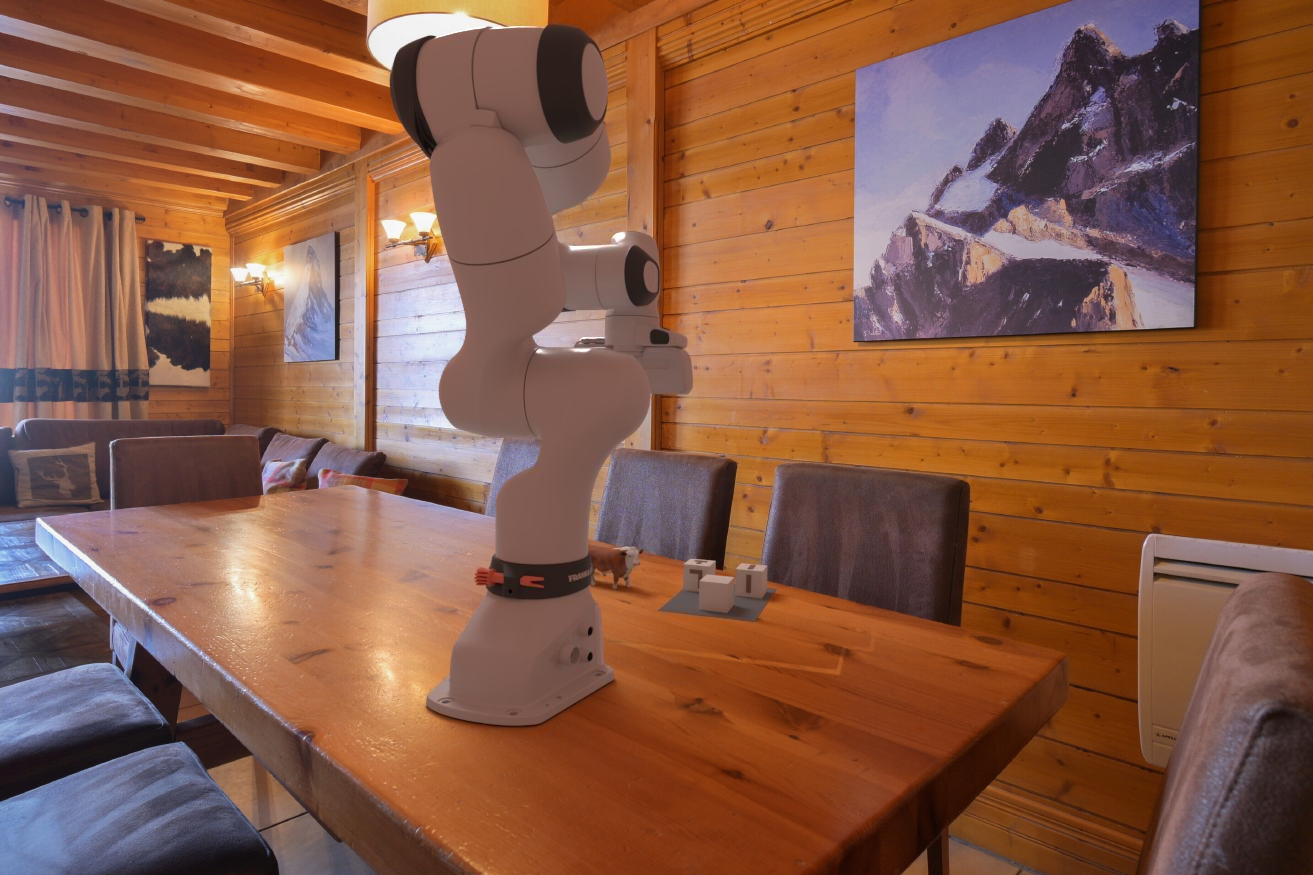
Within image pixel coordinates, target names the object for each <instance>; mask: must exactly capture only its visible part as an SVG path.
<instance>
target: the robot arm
mask: <svg viewBox="0 0 1313 875" xmlns="http://www.w3.org/2000/svg"><path fill="white" fill-rule="evenodd" d="M603 58H604V57H603V56H602V53H601V50H600V48H599V45H598V44H597V43H596V41H595V40H594V39H593V38H592V37H591V36H589V35H588V34H587V33H586V32H585V31H584V30H583V29H582V28H580V27H577V26H573V25H567V24H559V23H558V24H556V23H550V24H547V25H546V26H545V27H542V26H503V27H493V26H490V25H488V26H481V27H475V28H474V27H473V28H469V29H464V30H457V31H454V32H451V33H447V34H443V35H440V36H437V35H433V34H431V35H426V36H423V37H420V38H419V37H418V38H417V39H414V40H412V41H410V42H408V43H407V44H404V45H403V46H401V47H400V48H399V49H398V50H397V52H396V54H395V56H394V59H393V62H392V66H391V69H390V72H389V74H390V75H389V92H390V98H391V102H392V106H393V109H394V112H395V114H396V115H397V118H398V121H399V122H400V124H401V125H402V127H403V129H404V130H405V132H406V133H407V134H408V136H409V137H410V138H411V139H412V140H413V141H414V143H415V144H416V145H417V146H419V148H420V150H421V151H422V152H423V154H424V155H425V156H426V157H427V158H428V159H429V173H430V177H429V178H430V183H431V191H432V192H431V193H432V198H433V202H434V208H435V213H436V218H437V221H438V226H439V230H440V234H441V238H442V241H443V244H444V247H445V250H446V253H447V257H448V259H449V260H448V261H449V263H450V266H451V269H452V272H453V275H454V280H455V282H456V285H457V288H458V292H459V296H460V301H461V304H462V307H463V311H464V317H465V335H464V340H463V344H462V345H461V347H460V349H459V351H457V353H456V354H455V355H453V356H452V357H451V358H450V360H449V361H448V362H447V364H446V365H445V367H444V368H443V371H442V373H441V375H440V379H439V384H438V399H439V404H440V407H441V410H442V412H443V415H444V416H445V418H446V419H447V421H448V422H449V423H450V425H452V426H453V427H454V428H455V429H456V430H461V431H464V432H468V433H471V434H475V435H478V436H484V437H487V438H491V439H518V440H519V439H520V440H521V439H523V440H540V448H539V454H538V457H537V459H536V461H535V463H534V464H533V465H532V466H530V467H528V468H526V469H524V470H522V471H519V472H518V473H516V474H514V475H513V476H511V477H510V478H508V479H507V480H506V481H505V482H504V483H503V484H502V485H501V487H500V489H499V491H498V493H497V495H496V496H495V537H494V538H495V543H494V544H495V550H494V551H495V552H494V554H493V555H492V557H491V560H490V565H489V567H488V568H486V567H478V568H477V569H476V570H475V572H476V573H474V583H476V584H475V585H476V586H485V589H486V592H485V595H484V597H483V598H482V600H481V602H480V603H479V604H478V606H477V607H476V608H475V611H474V612H473V613H472V615H471V617H470V619H469V620H468V622H467V624H466V625H465V626H464V628H463V630H462V631H461V633H460V634H459V635H458V637H457V639H456V640H455V642H454V644H453V646H452V651H451V657H450V663H449V664H450V668H449V674H448V675H447V676H446V677H445V678H444V679H443V680H442V681H441V682H439V684H437V685H436V686H435V687H434V688H433V689H432V690H430V692H428V694H427V695H426V700H425V705H426V706H427V707H428V708H430V709H431V710H432V711H434V712H436V713H439V714H441V715H444V716H447V717H450V718H455V719H459V720H463V721H468V722H473V723H482V724H488V725H498V726H514V727H516V726H531V725H532V726H533V725H538V724H542V723H544V722H546V721H547V720H549V719H551V718H553V717H554V716H555V715H557V714H560V712H563V711H565V709H567V708H568V707H570V706H572V705H574V704H575V703H577V702H579V701H580V700H582V699H584V698H586V697H588V696H589V695H590V694H592V693H594V692H595V691H597V690H598V689H600V688H602V687H604V686H606V685H607V684H609V683H610V682H612V681H614V680H615V671H614V668H613V667H611V666H609V665H608V664H606V663H605V654H604V635H603V634H604V633H603V632H604V631H603V620H602V618H603V617H602V610H601V607H600V605H599V603H598V602H596V600H595V598H594V597H593V594H592V592H591V589H590V585H591V582H592V562H591V554H590V553H589V552H588V544H589V529H590V515H591V514H590V513H591V505H592V504H591V503H592V497H593V496H592V495H593V492H594V491H593V490H594V488H595V483H596V481H597V478H598V475H599V473H600V471H601V469H602V467H603V465H604V464H605V462H606V460H607V459H608V458H609V456H610V455H611V453H612V452H613V451H614V450H616V448H617V447H618V446H619V445H620V444H621V443H623V442H624V441H625V440H627V439H628V438H629V437H631V436H632V435H633V434H635V433H636V432H637V431H638V429H639V428H640V427H641V426H642V424H643V422H644V421H645V419H646V417H647V415H648V412H649V409H650V405H651V398H652V397H651V395H689V394H690V392H691V391H692V390H693V387H694V377H693V375H694V373H693V364H692V358H691V355H690V354H689V352H688V351H686V350H685V349H686V348H687V347H688V337H687V336H685V335H684V334H682V333H679V332H675V331H673V330H671V329H669V328H667V327H661V326H660V313H659V308H658V301H659V297H660V294H661V269H660V268H661V266H660V258H659V256H660V255H659V248H658V244H657V241H656V240H655V238H653V236H651V235H649V234H647V233H645V232H642V231H641V232H640V231H635V230H625V231H620V232H617V233H614V235H613V236H612V237H611V239H610V243H609V244H607V243H605V244H597V245H596V244H594V245H591V244H590V245H569V244H567V243H566V244H565V243H563V242H561V241H559V240H558V236H557V233H556V227H555V224H554V222H555V221H554V219H553V216H555V215H557V214H559V213H561V212H563V211H567V210H569V209H572V208H576V207H578V206H580V205H582V204H583V203H585V202H586V201H588V200H589V199H591V198H592V196H593V195H595V194H596V193H597V192H598V191H599V189H600V188H601V187H602V185H603V183H604V182H605V180H606V179H607V176H608V174H609V170H610V168H611V163H612V162H611V161H612V154H611V153H612V152H611V146H610V141H609V137H608V133H607V130H606V126H605V123H604V120H605V118H606V114H607V108H608V99H609V98H608V96H609V81H608V73H607V69H606V66H605V62H604V59H603ZM576 311H605V315H604V336H596V337H595V336H594V337H589V336H584V337H582V338H581V339H579V340H577V341H576V342H575V343H574V345H573V346H571V347H568V346H565V347H563V346H561V347H560V346H559V347H557V346H556V347H555V346H554V347H551V346H550V347H547V346H546V347H545V346H540V345H538V344H537V342H536V341H535V339H534V337H533V336H535V335H537V334H538V333H540V332H542V331H543V330H544V329H545V328H547V327H549V326H550V325H551V324H552V323H553V322H554V321H555V320H557V318H558V317H559V316H560V315H561V313H569V312H570V313H571V312H576Z"/></svg>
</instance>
